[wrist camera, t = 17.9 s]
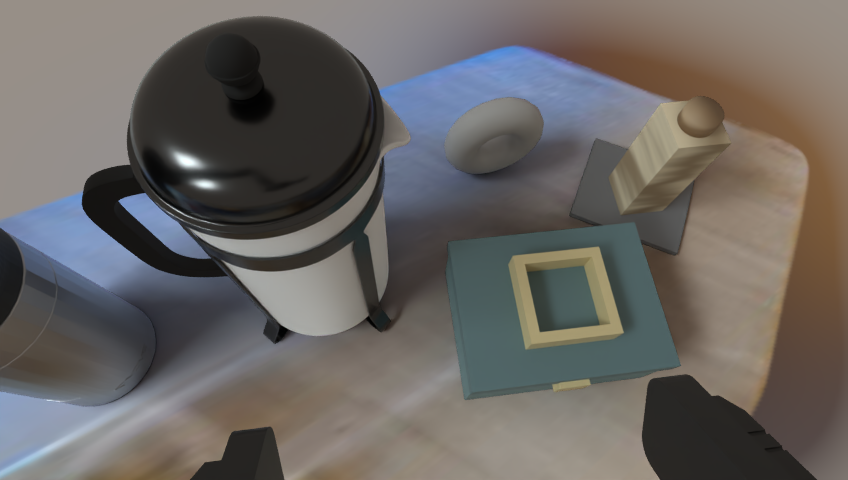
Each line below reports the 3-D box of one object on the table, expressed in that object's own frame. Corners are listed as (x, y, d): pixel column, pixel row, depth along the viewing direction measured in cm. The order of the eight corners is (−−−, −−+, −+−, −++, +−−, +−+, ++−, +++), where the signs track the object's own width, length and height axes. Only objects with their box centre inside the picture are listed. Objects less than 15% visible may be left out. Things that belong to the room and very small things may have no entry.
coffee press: (324, 178, 53) (236, -130, 26) (437, 278, 49) (477, 40, 21) (186, 293, 47) (-114, 60, 20) (301, 416, 43) (121, 335, 16)
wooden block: (620, 215, 52) (688, 137, 39) (608, 177, 53) (669, 91, 41) (662, 210, 52) (742, 131, 40) (649, 173, 54) (721, 86, 41)
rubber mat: (569, 215, 52) (571, 213, 52) (594, 141, 56) (596, 138, 55) (674, 255, 51) (677, 253, 50) (693, 176, 54) (696, 173, 54)
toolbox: (463, 408, 44) (476, 395, 36) (442, 270, 49) (450, 231, 41) (643, 384, 45) (696, 367, 37) (605, 252, 51) (644, 211, 42)
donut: (446, 189, 53) (455, 132, 44) (436, 162, 54) (443, 101, 45) (535, 168, 54) (561, 108, 45) (524, 142, 56) (547, 78, 46)
